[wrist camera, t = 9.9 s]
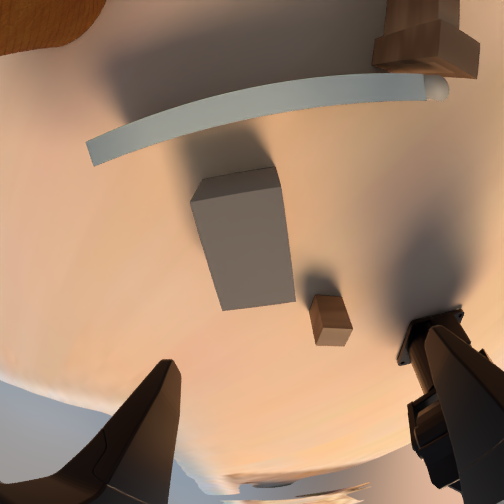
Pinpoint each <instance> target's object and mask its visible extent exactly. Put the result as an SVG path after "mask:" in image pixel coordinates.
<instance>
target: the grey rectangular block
mask: <svg viewBox="0 0 504 504" xmlns="http://www.w3.org/2000/svg"><path fill="white" fill-rule="evenodd" d="M190 204H191V208H192V212H193V215H194V219H195V222H196V226H197V229H198V233H199V236H200V240H201V243H202V246H203V250H204V253H205V256H206V260H207V263H208V266H209V270H210V273H211V276H212V279H213V283H214V286H215V289H216V292H217V295H218V298H219V302H220V305H221V308H222V311H226V310H235V309H244V308H252V307H260V306H267V305H275V304H282V303H289V302H296V298H295V289H294V280H293V272H292V263H291V255H290V247H289V239H288V232H287V224H286V217H285V210H284V203H283V196H282V189H281V184H280V181H279V177H278V173H277V170H276V167H270V168H263V169H257V170H251V171H245V172H239V173H234V174H228V175H223V176H217V177H212V178H207V179H203V180H202V182H201V183H200V185H199V187H198V189H197V190H196V192H195V194H194V196H193V198H192V199H191V201H190Z"/></svg>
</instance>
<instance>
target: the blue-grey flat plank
mask: <svg viewBox="0 0 504 504" xmlns="http://www.w3.org/2000/svg"><path fill="white" fill-rule="evenodd" d="M448 95H449V86H448V83H447V81H446V80H445V79H444V78H443V77H442V76H440V75H423V74H411V73H369V74H349V75H335V76H324V77H315V78H306V79H299V80H292V81H285V82H279V83H273V84H267V85H262V86H257V87H251V88H247V89H242V90H237V91H233V92H229V93H225V94H220V95H216V96H213V97H209V98H205V99H201V100H198V101H194V102H191V103H187V104H184V105H181V106H178V107H174V108H171V109H168V110H165V111H162V112H159V113H156V114H153V115H151V116H148V117H145V118H142V119H140V120H137V121H134V122H132V123H129V124H127V125H124V126H122V127H119V128H117V129H114V130H112V131H109V132H107V133H105V134H103V135H100V136H98V137H96V138H94V139H91V140H89V141H87V142H86V145H87V148H88V151H89V154H90V157H91V160H92V163H93V166H97V165H99V164H102V163H104V162H107V161H109V160H112V159H114V158H117V157H120V156H122V155H125V154H128V153H131V152H133V151H136V150H139V149H142V148H145V147H148V146H151V145H154V144H157V143H160V142H163V141H166V140H170V139H173V138H176V137H179V136H183V135H186V134H190V133H193V132H197V131H201V130H205V129H208V128H212V127H216V126H220V125H224V124H229V123H233V122H237V121H242V120H246V119H251V118H256V117H261V116H266V115H272V114H277V113H283V112H289V111H295V110H302V109H309V108H316V107H324V106H333V105H342V104H353V103H365V102H382V101H427V99H428V100H435V101H444V100H446V99H447V97H448Z"/></svg>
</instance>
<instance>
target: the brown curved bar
mask: <svg viewBox="0 0 504 504" xmlns="http://www.w3.org/2000/svg"><path fill="white" fill-rule="evenodd" d="M459 17H460V0H387V9H386V19H385V28H384V36H383V37H380V38H377V39H375V46H374V53H373V59H372V65H373V66H376V67H379V68H382V69H385V70H387V71H390V72H393V73H411V74H423V75H440V76H442V77H456V78H470V79H477V75H478V66H479V54H480V43H479V42H477V41H476V40H474V39H473V38H471V37H470V36H468V35H467V34H465V33H464V32H462V31H460V30H459ZM309 314H310V319H311V324H312V329H313V334H314V339H315V344H316V345H317V346H345V344H346V342H347V340H348V338H349V336H350V334H351V332H352V330H353V327H352V324H351V322H350V319H349V316H348V313H347V310H346V307H345V304H344V301H343V299H342V297H337V296H325V295H315V296H314V299H313V302H312V305H311V308H310V311H309Z"/></svg>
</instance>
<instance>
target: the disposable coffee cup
mask: <svg viewBox="0 0 504 504" xmlns="http://www.w3.org/2000/svg"><path fill="white" fill-rule="evenodd" d="M105 2H106V0H0V56H2V55H7V54H11V53H12V54H13V53H17V52H18V51H19V52H23V51H25V50H26V51H29V50H35V49H42V48H50V47H59V46H63V45H66V44H68V43H70V42H72V41H74V40H75V39H77V38H78V37H80V36H81V35H82V34H83V33H84V32H85V31H87V29H88V28H89V27H90V26H91V25H92V24H93V23H94V21H95V20H96V18H97V17H98V16H99V14H100V12H101V10H102V8H103V7H104V4H105Z"/></svg>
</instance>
